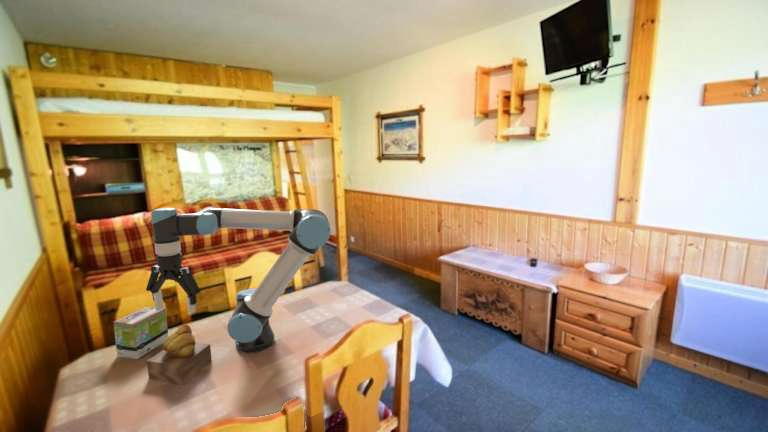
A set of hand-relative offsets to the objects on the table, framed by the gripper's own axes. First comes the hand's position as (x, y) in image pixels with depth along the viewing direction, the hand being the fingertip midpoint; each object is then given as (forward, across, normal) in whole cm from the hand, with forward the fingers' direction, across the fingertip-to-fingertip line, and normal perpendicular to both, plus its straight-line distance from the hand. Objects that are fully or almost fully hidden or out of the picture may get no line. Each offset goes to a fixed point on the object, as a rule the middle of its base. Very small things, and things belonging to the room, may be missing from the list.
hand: (175, 311), depth 121 cm
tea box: (+23, +26, -9) cm, 36 cm away
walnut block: (+23, 0, 0) cm, 23 cm away
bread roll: (+16, 0, 0) cm, 16 cm away
